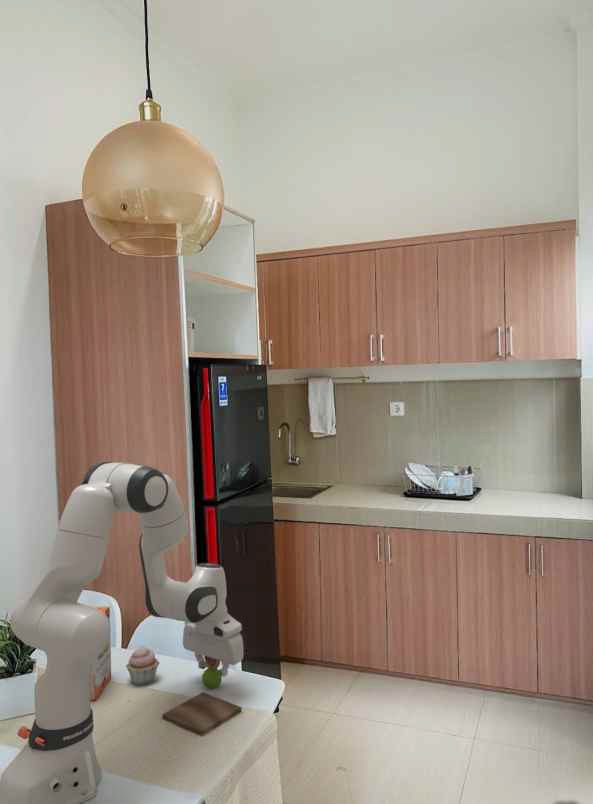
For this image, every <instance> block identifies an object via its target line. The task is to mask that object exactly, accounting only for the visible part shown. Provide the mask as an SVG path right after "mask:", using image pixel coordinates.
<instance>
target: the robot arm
mask: <svg viewBox="0 0 593 804" xmlns="http://www.w3.org/2000/svg"><path fill="white" fill-rule="evenodd" d="M184 507H185V506H184V504H183V501H182V498H181V496H180V493H179V491H178V489H177V487H176V485H175V483H174V481H173V479H172V478H171V477H170V476H169V475H167V474H165V473H162V471H160V470H158V469H156V468H154V467H151V466H147V465H145V466H142V465H139V464H133V463H130V462H111V461H105V462H100V463H96V464H94V465H92V466H91V467H90V468H89V469H88V470H87V472H86V473H85V475H84V477H83V480H82V483H81V484H80V485H79V486H77V487H75V488H73V490H72V492H71V495H70V496H69V498H68V499H67V502H66V505H65V507H64V509H63V512H62V515H61V517H60V520H59V522H58V527H57V531H56V535H55V537H54V541H53V545H52V548H51V552H50V556H49V558H48V561H47V564H46V566H45V569H44V571H43V573H42V575H41V576H40V578H39V580H38V582H37V584H36V585H35V586H34V587H33V589H32V590H31V592H30V593H29V594H27V595H26V596H25V597H24V598H22V599H21V600H20V601H18V603H17V604H16V605H15V607H14V608H13V610H12V613H11V615H10V621H9V622H10V628H11V632H13V634H14V635H15V636H16V637H17V639H19V640H20V641H22V642H23V643H24V644H25V645H26V646H29V647H32V648H33V649H37V650H39V651H42V652H44V654H45V656H46V668H45V671H44V673H42V675H41V676H39V677H38V678H37V680H36V682H35V683H34V689H33V690H34V691H33V693H34V695H33V696H34V715H35V716H34V717H35V718H34V721H33V723H32V725H31V726H32V727H31V729H30V728H28V727H27V726H25V725H23V726H20V728H18V730H17V733H16V734H17V736H18V737H20V738H21V739H23V740H27V739H28V740H27V743H26V744H25V745H24V746H23V748H22V749H21V750H20V751H19V752H18V754H16V756H15V757H14V759H12V761H11V762H10V763H8V765H7V766H6V768H5V769H4V770H3V771H2V773H1V775H0V804H81V803H84V802H86V801H88V800H90V799H92V798H94V797H95V796H96V794H97V785H98V784H99V782H100V781H101V779H102V778H101V777H102V770H101V768H100V764H99V762H98V758H97V754H96V749H95V743H94V736H93V732H94V726H95V725H94V715H93V713H94V712H93V709H92V708H91V700H90V675H91V670H92V666H93V663H94V661H95V659H96V658H97V657H98V656H99V655H101V653H102V652H103V651H104V650H105V648H106V646H107V644H108V642H109V639H110V640H111V631H112V629H111V622H110V623H109V621H108V619H107V618H106V617H105V616H104V615H103V614H101V613H100V612H98V611H97V610H95V609H94V608H92V607H93V606H90V605H87V604H83V603H80V602H78V600H79V599H80V597H81V594H82V593H83V591H84V589H85V588H86V587H87V585H88V584H89V583H91V582H93V581H94V580H96V579H97V578H98V577H99V575H100V574H101V572H102V568H103V563H104V561H105V557H106V553H107V549H108V546H109V540H110V536H111V533H112V527H113V522H114V521H113V520H114V517H115V516H116V515H117V513H118V512H127V513H129V512H130V513H138V518H139V521H140V524H141V530H142V533H141V534H140V537H139V541H138V547H139V557H140V562H141V568H142V574H143V579H144V588H145V594H144V596H145V599H144V601H145V606H146V609H147V611H148V613H149V614H150V615H151V616H153V617H155V618H161V619H162V618H163V619H171V620H175V621H179V622H184V627H183V634H182V645H183V648H184V649H185V650H187V651H190V652H193V653H194V656H195V658H196V661H197V663H198V665H197V666H198V668H199V669H201V670H205V669H207V667H206V665H205V662H206V661H205V658H204V656H207V657H210V658H213V659H216V660H219V661H220V662H221V665H222V668H219V669H218V670H219V675H220V676H222V678H225V677H227V676H228V673H229V671H228V670H229V668H230V665H231V666H235V665H237V664H239V663H241V662H242V660H244V640H243V636H242V634H241V633H240V632H241V631H242V629H243V627H242V623H241V622H239V621H238V620H236V619H235V618H234V617H232V615H230V613H228V607H227V604H226V603H227V602H226V600H227V594H228V593H227V592H228V591H227V580H226V573H225V570H224V567H223V566H221V565H220V564H217V563H211V562H202V563H198V564H196V565H195V567H194V574H193V575H192V576H191V578H190V579H189V580H188V581H186V582H184V581H178V580H175V579H173V578H171V577H169V576H168V574H167V569H166V564H165V563H166V562H165V558H164V552H165V553H166V552H168V551H171V550H172V549H174V548H175V547H177V546H179V544H181V542H183V541H184V539H185V538H186V536H187V534H188V530H189V523H188V517H187V514H186V511H185V510H186V509H185V508H184ZM206 663H207V662H206Z"/></svg>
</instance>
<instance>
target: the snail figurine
mask: <svg viewBox="0 0 593 804" xmlns="http://www.w3.org/2000/svg"><path fill="white" fill-rule="evenodd" d="M203 657H204V661H206V662H205V665H206V668H205V669H204V671H203V673H202V675H201V681H202V684H203V686H204V687H205V688H206V689H209V690H213V689H216V688H218V687H220V684H221V683H222V680H223V676H220V675H219V669H218V668H219V667H220V664H221V661H219V660H216V659H213V658H210V657H207V656H204V655H203Z"/></svg>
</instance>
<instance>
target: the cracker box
mask: <svg viewBox="0 0 593 804" xmlns="http://www.w3.org/2000/svg"><path fill="white" fill-rule="evenodd" d="M91 607H92V608H94V609H95V610H97V611H98V612H100V613H101V614H103V615H104V616H105V617H106V618H107V619H108V621H109V623H110V624H111V615H110V614H111V611H110V606H107V605H105V606H91ZM111 648H112V647H111V638H110V639H109V642H108V644H107V646H106V648H105V650H104V651H103V652H102V653H101V655H99V656H98V657H97V658H96V659H95V661H94V663H93V666H92V670H91V675H90V701H97V700H98V698H99V696H100V695H101V693H102V692H103V691H104V689H105V687H106V686H107V685H108V683H109V682H110V681H111V679H112V650H111Z"/></svg>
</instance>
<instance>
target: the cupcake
mask: <svg viewBox="0 0 593 804" xmlns="http://www.w3.org/2000/svg"><path fill="white" fill-rule="evenodd" d="M155 655H156V654H155V653H154V651H153V650H152V649H150V648H147V647H146V646H144V645H142V644H141V645H140V647H139V648H138V649H136V650H134V651H133V652H132V654H131V656H130V657H129V659H128V662H127V663H126V664H125V667H126V670H127V671H128V673H129V676H130V680H131V682H132V683H133V685H136V686H144V685H145V686H146V685H148V684H151V683H152V682H154V681H155V678H156V673H157V669H158V667H159V665H160V661H159V659H158V658H156V656H155Z"/></svg>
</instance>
